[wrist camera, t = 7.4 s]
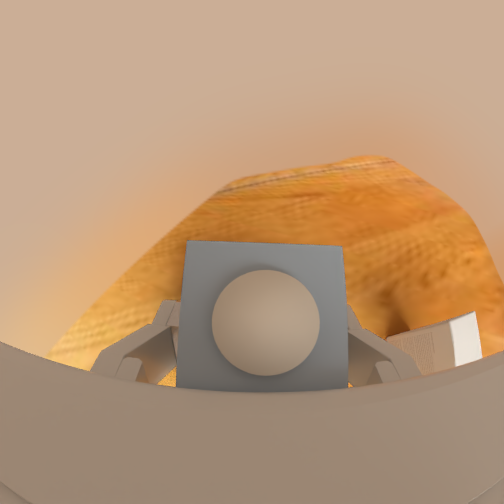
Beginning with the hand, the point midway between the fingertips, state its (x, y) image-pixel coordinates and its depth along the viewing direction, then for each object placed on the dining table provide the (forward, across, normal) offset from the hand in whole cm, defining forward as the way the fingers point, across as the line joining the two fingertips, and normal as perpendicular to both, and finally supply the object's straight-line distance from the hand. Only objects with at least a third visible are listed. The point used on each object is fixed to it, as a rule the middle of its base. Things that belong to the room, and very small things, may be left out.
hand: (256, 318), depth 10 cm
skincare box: (+12, -19, +16) cm, 28 cm away
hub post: (+3, 0, +4) cm, 5 cm away
